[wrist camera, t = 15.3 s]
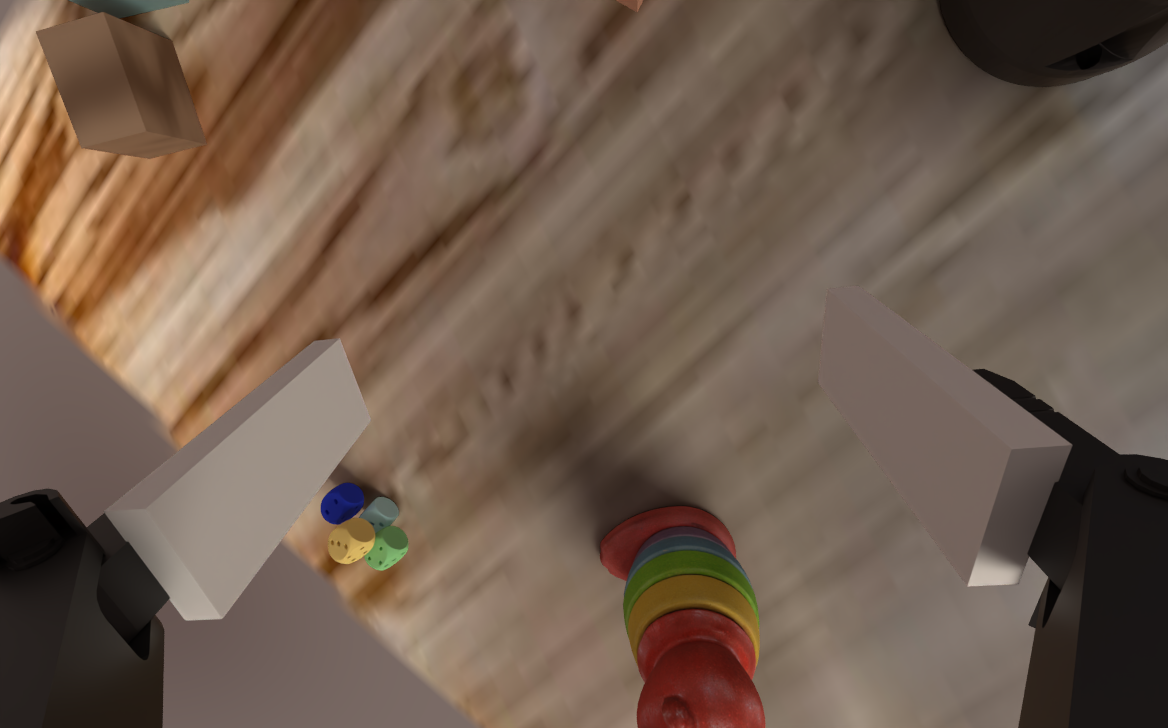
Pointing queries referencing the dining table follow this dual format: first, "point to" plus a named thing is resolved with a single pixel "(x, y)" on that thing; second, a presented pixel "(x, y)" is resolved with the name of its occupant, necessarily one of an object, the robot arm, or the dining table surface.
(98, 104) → the walnut block
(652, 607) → the stacking bear
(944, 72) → the dining table surface
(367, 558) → the dice
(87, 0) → the teal block
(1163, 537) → the robot arm
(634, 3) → the terracotta block
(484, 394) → the dining table surface
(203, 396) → the dining table surface
